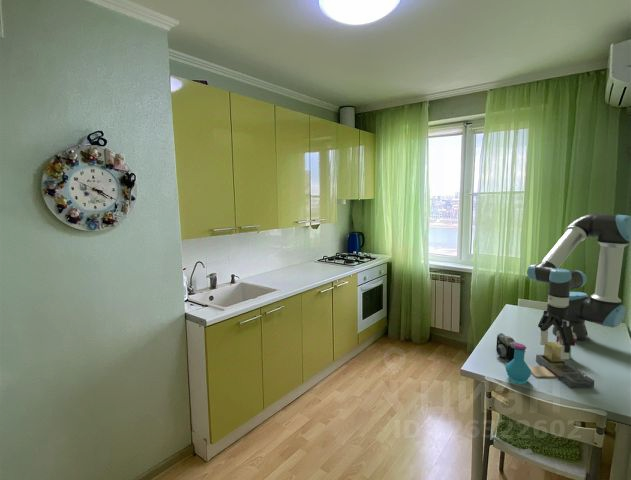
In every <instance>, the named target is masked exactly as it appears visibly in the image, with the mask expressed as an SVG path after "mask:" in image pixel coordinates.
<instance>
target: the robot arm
mask: <svg viewBox="0 0 631 480" xmlns="http://www.w3.org/2000/svg"><path fill="white" fill-rule="evenodd" d="M563 231H564V233H563V235H562V236H561V237H560V238H559V239H558V241H557V242H556V243H555V244H554V245H553V247H552V248H551V249H550V250H549V251H548V253H547V254H546V255H545V256H544V257H543V259H541V261H540V262H539V263H538V264H530V265H529V266H528V268H527V269H526V274H527V277H528V279H529V280H531V281H535V282H541V283H544V284H548V293H547V294H548V296H547V305H546V310H543V314H542V316H541V318H540V320H539V322H538V324H537V327H538V328H539V329H540V343H539V344H540V345H541V346H545V342H549V340H548V339H549V329H550V328H551V326H552V331H551V332H552V333H553V335H555V336H556V332H557V331H559V333H560V335H561V338H562V341H563V343H564V344H562V350H561V359H564V360H569V356H570V355H569V352H570V346H571V347H576V346H575V344H576V343H575V342H574V338H573V334H572V332H573V333H575V334H576V337H577V339H576V340H577V341H576V342H581V341H583V342H584V341H586V340H588V336H589V334H588V330H587V326H586V322H589V323H594V324H596V325H599V326H600V325H601V326H603V327H606V328H611V329H613V328H617V327H619V325H621V324H622V322H623V321H624V318H625V317H626V313H627V309H626V308H627V307H626V305H622V299H621V298H620V297H619V288H620V283H621V282H620V281H621V274H622V273H621V272H622V268H623V267H622V266H623V258H624V251H625V250H624V249H625V248H626V247H627V246H628V245H629V244H630V242H631V215H625V214H624V215H623V214H607V213H590V214H584V215H582V216H580V217H578V218H576V219H575V220H573V221H571V222H570V223H569V224H568V225H567V226H566V227H565V228H564V230H563ZM587 238H596V242H597V244H599V246H600V248H599V257H598V265H597V273H596V281H595V287H594V288H595V289H594V293H593V294H591V295H590V297H589V296H588V293H585V292H581V291H571V290H574V289H579V288H581V287H583V286H584V285H585V284H586V283H587V280H588V278H587V275H586V274H585V273H584V272H583V271H581V270H577V269H574V270H573V269H572V270H569V269H566V268H560V267H561V266H562V264H564V262H565V261H566V260H567V259H568V257H569V256H570V255H571V254H572V253H573V251H574V250H575V248H576V247H577V246H578V245H579V244H580V243H581V242H583V241H585V240H586V239H587ZM561 326H563V327H561ZM571 327H573V331H572V330H571Z"/></svg>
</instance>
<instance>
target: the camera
mask: <svg viewBox="0 0 631 480" xmlns="http://www.w3.org/2000/svg"><path fill="white" fill-rule="evenodd" d="M516 343H518V342H516V341H515V340H514V338H513V337H511V336H509V335H505V334H504V333H501V332H500V333H497V334H496V349H495V352H496V353H497V355H498V356H499V357H501V358H504V359H507V360H508V361H509V362H510V361H511V360H513V359H514V351H515V349H514V346H513V345H514V344H516Z"/></svg>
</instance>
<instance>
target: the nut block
mask: <svg viewBox="0 0 631 480" xmlns="http://www.w3.org/2000/svg"><path fill="white" fill-rule="evenodd" d="M561 350H562V345H560V344H559V342H558V343H557V342H556V341H548V342H545V345H544V348H543V355H544V359H546V360H547V361H548V362H550V363H563V359H561Z"/></svg>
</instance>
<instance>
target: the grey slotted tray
mask: <svg viewBox="0 0 631 480" xmlns="http://www.w3.org/2000/svg"><path fill="white" fill-rule="evenodd" d="M535 362H537V363H538V364H539V366H544V367H545V368H546V369H547V370H549V371H550V372H551V373H552V374H554V375H555V376H556V377H555V378H557V379H558V380H559V381H561V382H562V383H563V384H565V386H567V387H568V388H570V389H594V388H595V380H594V379H592V378H591V377H590V376H588V375H586V374H585V373H584V372H582V371H581V370H579V369H578V368H576V367H575V366H574V365H572V364H571V363H570V362H569V361H567V360H566V359H563V363H550V362H548V361H547V360H546V359H544V354H536V355H535Z"/></svg>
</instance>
